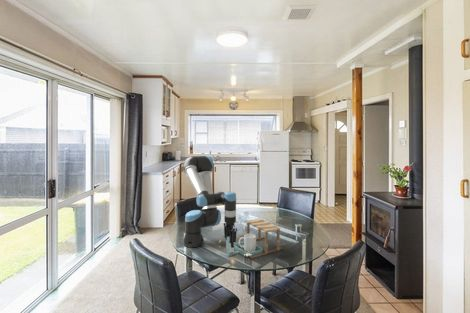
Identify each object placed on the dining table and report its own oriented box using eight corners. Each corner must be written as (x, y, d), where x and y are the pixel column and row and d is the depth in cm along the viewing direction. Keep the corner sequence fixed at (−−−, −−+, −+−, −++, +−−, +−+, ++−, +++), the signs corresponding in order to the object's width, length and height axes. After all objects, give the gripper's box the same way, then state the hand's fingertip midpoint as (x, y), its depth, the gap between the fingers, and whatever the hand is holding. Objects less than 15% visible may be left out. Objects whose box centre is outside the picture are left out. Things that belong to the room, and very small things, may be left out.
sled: (221, 250, 180) (221, 233, 179) (248, 243, 192) (248, 227, 191) (235, 261, 164) (235, 242, 163) (264, 252, 176) (264, 235, 175)
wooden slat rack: (232, 245, 187) (232, 223, 186) (263, 238, 202) (263, 217, 201) (251, 258, 168) (251, 234, 166) (283, 249, 182) (284, 226, 181)
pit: (266, 240, 198) (266, 240, 198) (273, 238, 202) (273, 238, 202) (278, 247, 186) (279, 246, 186) (286, 245, 190) (286, 244, 190)
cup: (256, 252, 177) (256, 238, 176) (238, 252, 177) (238, 237, 176) (255, 247, 185) (255, 233, 184) (238, 247, 185) (238, 233, 184)
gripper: (219, 213, 175) (219, 247, 177) (231, 220, 162) (231, 257, 164) (228, 211, 179) (228, 245, 181) (242, 218, 166) (241, 254, 168)
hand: (230, 250), depth 172 cm, fingers closed on sled, 3 cm apart
